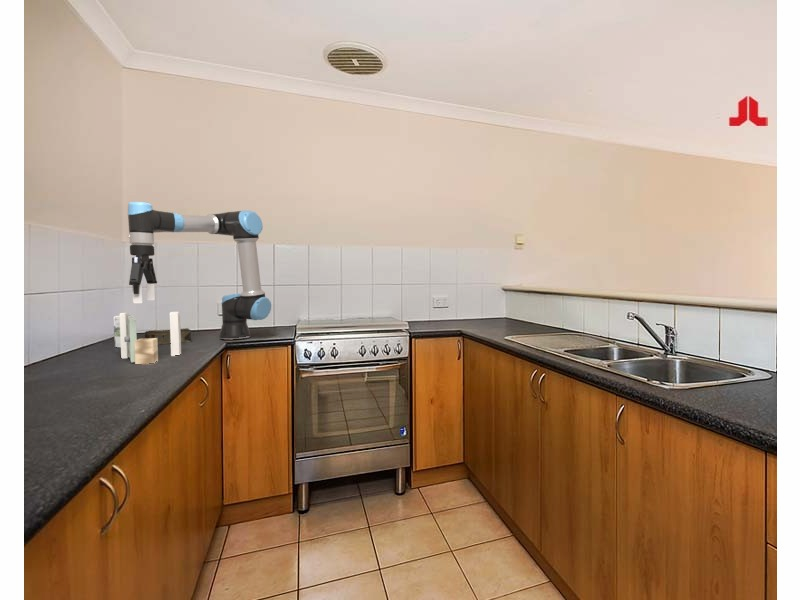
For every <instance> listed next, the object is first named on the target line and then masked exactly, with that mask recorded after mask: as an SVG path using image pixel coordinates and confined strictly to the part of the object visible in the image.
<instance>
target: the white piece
mask: <svg viewBox="0 0 800 600" xmlns="http://www.w3.org/2000/svg"><path fill="white" fill-rule="evenodd" d="M128 315H129V312H120V313H119V315H118V316H120V339H121V348H120V356H121V358H122V359H128V357H129V342H125V340H124V337H128V336H129V335H128ZM180 329H181V312H180V311H170V312H169V330H170V339H171V344H170V356H171V357H176V356H175V355H180V354H181V355H182V343H181V331H180ZM181 355H180V356H181ZM129 358H130V357H129Z"/></svg>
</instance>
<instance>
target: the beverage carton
mask: <svg viewBox="0 0 800 600" xmlns="http://www.w3.org/2000/svg"><path fill="white" fill-rule="evenodd" d="M180 331H181V342H185V343H188V342H187V341H191V342H192V330H191V329H190V328H189V327H187V328H180ZM144 338H157V343H158V346H159V344H162V345H169V344H168V343H171V339H170V329H160V330H146V331H145V333H144Z"/></svg>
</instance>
